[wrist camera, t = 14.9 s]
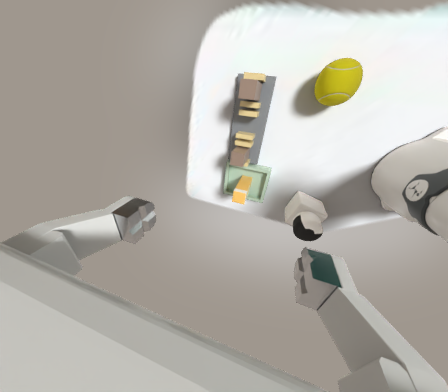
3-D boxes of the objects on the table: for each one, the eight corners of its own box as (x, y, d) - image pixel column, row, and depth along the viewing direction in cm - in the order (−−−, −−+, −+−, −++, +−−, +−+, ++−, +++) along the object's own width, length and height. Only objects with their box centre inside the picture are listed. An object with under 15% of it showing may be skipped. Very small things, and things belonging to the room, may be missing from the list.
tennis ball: (317, 64, 31) (325, 55, 25) (359, 61, 29) (379, 50, 23) (308, 105, 34) (313, 106, 29) (345, 105, 33) (359, 105, 27)
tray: (271, 167, 43) (271, 171, 41) (263, 198, 48) (262, 203, 46) (229, 159, 46) (226, 162, 43) (225, 189, 51) (223, 193, 49)
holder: (239, 74, 35) (228, 66, 28) (276, 77, 34) (274, 69, 26) (229, 157, 45) (219, 168, 38) (257, 163, 44) (252, 175, 36)
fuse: (252, 177, 45) (246, 193, 37) (250, 186, 47) (244, 204, 39) (242, 174, 46) (233, 190, 38) (240, 184, 48) (231, 201, 39)
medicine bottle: (306, 219, 47) (312, 249, 38) (284, 208, 48) (284, 235, 38) (322, 201, 43) (334, 230, 34) (298, 189, 44) (303, 215, 34)
